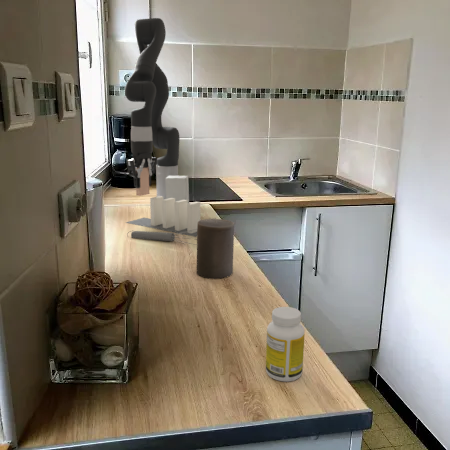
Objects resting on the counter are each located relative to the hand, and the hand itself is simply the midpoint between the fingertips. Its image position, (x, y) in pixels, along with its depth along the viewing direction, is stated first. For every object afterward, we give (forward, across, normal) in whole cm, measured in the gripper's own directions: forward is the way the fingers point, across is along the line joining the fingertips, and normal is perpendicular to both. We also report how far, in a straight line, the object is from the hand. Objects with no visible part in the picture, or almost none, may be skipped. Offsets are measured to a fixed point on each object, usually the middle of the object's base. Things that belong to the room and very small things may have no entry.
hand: (142, 186), depth 176 cm
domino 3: (+13, 0, +12) cm, 18 cm away
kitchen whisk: (+14, +14, +26) cm, 33 cm away
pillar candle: (+14, +29, +52) cm, 61 cm away
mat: (+14, 0, +12) cm, 18 cm away
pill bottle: (+14, +63, +89) cm, 109 cm away
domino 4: (+13, 0, +18) cm, 22 cm away
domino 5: (+13, 0, +23) cm, 27 cm away
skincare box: (+14, -17, +2) cm, 22 cm away
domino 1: (+3, 0, 0) cm, 3 cm away
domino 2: (+13, 0, +7) cm, 15 cm away
